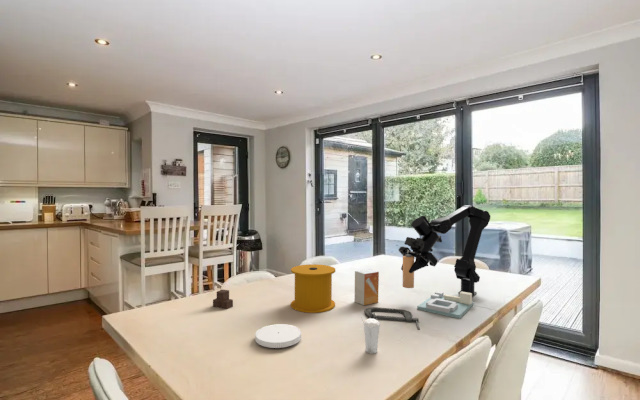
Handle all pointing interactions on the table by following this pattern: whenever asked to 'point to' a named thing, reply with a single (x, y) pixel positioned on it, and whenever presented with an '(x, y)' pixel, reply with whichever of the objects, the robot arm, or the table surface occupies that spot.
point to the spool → (313, 288)
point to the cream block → (460, 298)
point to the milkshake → (371, 335)
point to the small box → (366, 286)
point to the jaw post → (407, 276)
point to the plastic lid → (278, 335)
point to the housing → (444, 306)
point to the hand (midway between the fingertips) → (405, 271)
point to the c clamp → (406, 317)
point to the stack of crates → (223, 300)
